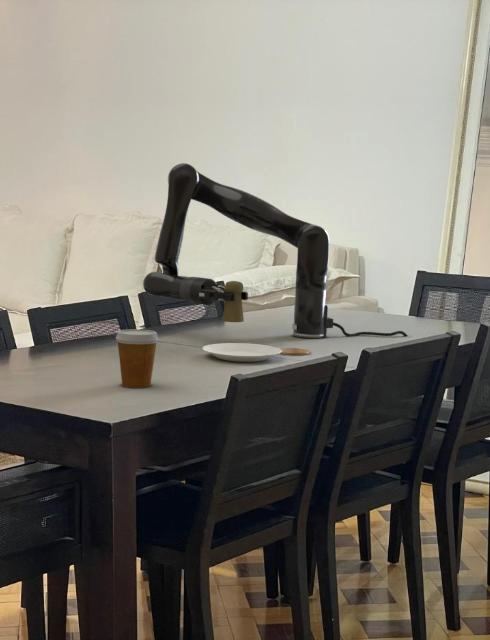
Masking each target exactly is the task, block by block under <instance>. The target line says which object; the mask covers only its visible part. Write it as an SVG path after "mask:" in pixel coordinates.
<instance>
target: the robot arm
mask: <svg viewBox="0 0 490 640" xmlns="http://www.w3.org/2000/svg"><path fill="white" fill-rule="evenodd" d="M167 185H168V186H167V187H168V188H167V199H166V200H167V201H166V208H165V212H164V216H163V220H162V224H161V228H160V231H159V236H158V239H157V244H156V249H155V253H154V261H155V263H157V264H158V265H160V266H161V268H162V272H159V271H152V272H151V271H150V272H148V273H147V274H146V275H145V276H144V278H143V280H142V287H143V290H144V291H145V292H146V293H147V294H148V295H150V296H153V297H159V298H164V299H170V298H172V299H174V300H178V301H184V302H188V303H191V304H198V305H204V306H211V305H213V304H214V303H215V302H221V301H222V302H223V301H225V300H228V301H235V300H236V294H235V293H231V292H226V291H225V285H218V283H217V282H216V280H215V279H212V278H208V277H200V276H187V275H179V259H180V255H181V250H182V249H181V248H182V244H183V239H184V233H185V227H186V220H187V216H188V211H189V207H190V204H191V201H196V202H198V203H201V204H204V205H206V206H207V207H209V208H211V209H213V210H214V211H216V212H217V213H219V214H221V215H223V217H226V218H228V219H230V220H232V221H233V222H236V223H238V224H240V225H242V226H244V227H246V228H248V229H250V230H253V231H256V232H259V233H261V234H265V235H269V236H273V237H275V238H278V239H280V240H282V241H284V242H286V243H287V244H290V245H291V246H292V247H294V248H296V249H297V258H296V259H297V260H296V269H295V285H294V287H295V289H294V292H295V293H294V309H293V310H294V311H293V312H294V313H293V323H292V325H291V328H292V330H293V331H292V336H293V337H298V338H305V339H320V338H327V333H328V329H333V328H334V327H336V328H338V329H340V331H341V332H342V334H343V335H344V337H345V336H346V337H357V336H363V335H365V336H377V337H378V336H380V337H393V336H397V335H402V336H403V337H408V335H407V333H406V332H405V331H403V330H397V331H393V332H375V331H358V332H354V333H348V332H346V330H345V328H344V327H343V326H342V325H341V324H339V323H338V322H334V318H333V317H328V316H329V315H328V313H329V305H327V304H326V300H327V282H328V281H327V279H328V270H329V260H330V235H329V234H328V232H327V231H326V230H325V228H323V227H322V226H320V225H317V224H314V223H310V222H307V221H304V220H302V219H298V218H297V217H294V216H291V215H289V214H287V213H285V212H284V211H282V210H281V209H279V208H278V207H276V206H274V205H273V204H271V203H269V202H268V201H266V200H264V199H262V198H260V197H258V196H256V195H254V194H251V193H250V192H247V191H244V190H241V189H239V188H235V187H233V186H229V185H225V184H223V183H219V182H217V181H215V180H213V179H211V178H209V177H208V176H206V175H204V174H202V173H200V172H199V171H198V170H197V169H196V168H195V167H194V166H193V165H191V164H189V163H185V162H183V163H178V164H175V165H174V166H172V167H171V169H170V170H169V172H168V175H167ZM241 297H242V301H248V299H249V293H248V292H247V291H243V292H242V293H241Z"/></svg>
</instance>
